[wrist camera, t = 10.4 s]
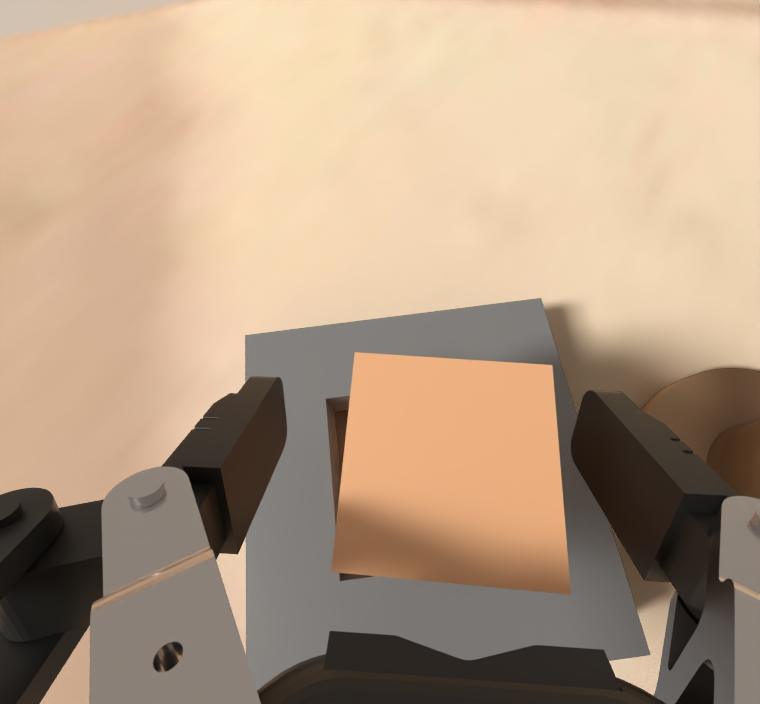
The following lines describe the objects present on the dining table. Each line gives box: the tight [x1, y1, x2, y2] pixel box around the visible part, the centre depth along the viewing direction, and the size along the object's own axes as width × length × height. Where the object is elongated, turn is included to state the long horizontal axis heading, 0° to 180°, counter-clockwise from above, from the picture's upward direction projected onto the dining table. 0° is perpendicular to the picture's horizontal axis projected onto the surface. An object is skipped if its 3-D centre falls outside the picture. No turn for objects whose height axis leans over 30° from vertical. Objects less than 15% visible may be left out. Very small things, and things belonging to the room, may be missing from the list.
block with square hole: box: [245, 298, 650, 690], centre depth 14 cm, size 12×12×2 cm
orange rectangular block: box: [331, 352, 571, 595], centre depth 11 cm, size 4×4×10 cm
